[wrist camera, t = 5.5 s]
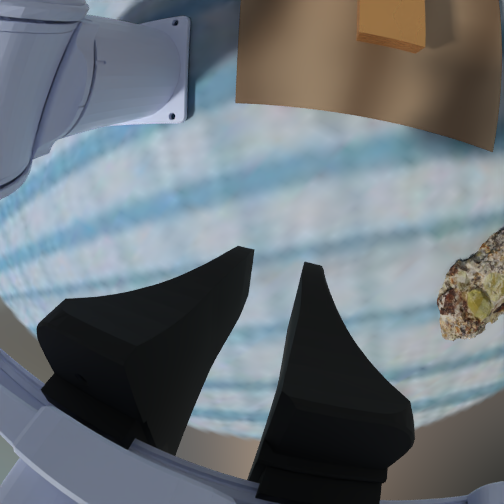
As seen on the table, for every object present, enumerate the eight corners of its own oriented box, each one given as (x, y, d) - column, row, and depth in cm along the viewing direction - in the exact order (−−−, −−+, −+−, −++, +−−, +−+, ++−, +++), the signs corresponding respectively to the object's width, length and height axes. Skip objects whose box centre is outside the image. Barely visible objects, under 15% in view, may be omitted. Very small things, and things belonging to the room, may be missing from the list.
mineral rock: (483, 356, 20) (431, 352, 18) (463, 324, 23) (411, 312, 22) (554, 260, 14) (520, 228, 13) (525, 233, 18) (483, 199, 16)
